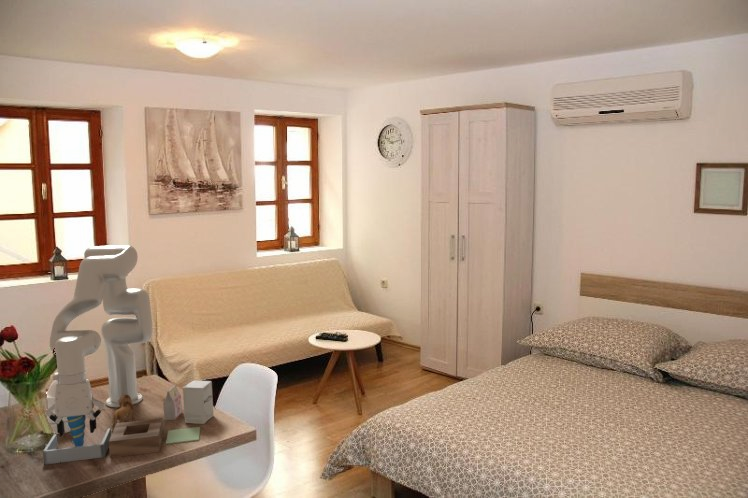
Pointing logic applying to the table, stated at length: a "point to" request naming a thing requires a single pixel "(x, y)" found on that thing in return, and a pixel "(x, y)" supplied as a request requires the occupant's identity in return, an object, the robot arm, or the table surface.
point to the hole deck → (136, 437)
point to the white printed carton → (172, 404)
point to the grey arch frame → (75, 451)
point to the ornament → (77, 429)
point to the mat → (183, 435)
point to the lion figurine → (123, 410)
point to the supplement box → (198, 402)
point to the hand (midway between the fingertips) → (77, 432)
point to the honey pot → (51, 401)
